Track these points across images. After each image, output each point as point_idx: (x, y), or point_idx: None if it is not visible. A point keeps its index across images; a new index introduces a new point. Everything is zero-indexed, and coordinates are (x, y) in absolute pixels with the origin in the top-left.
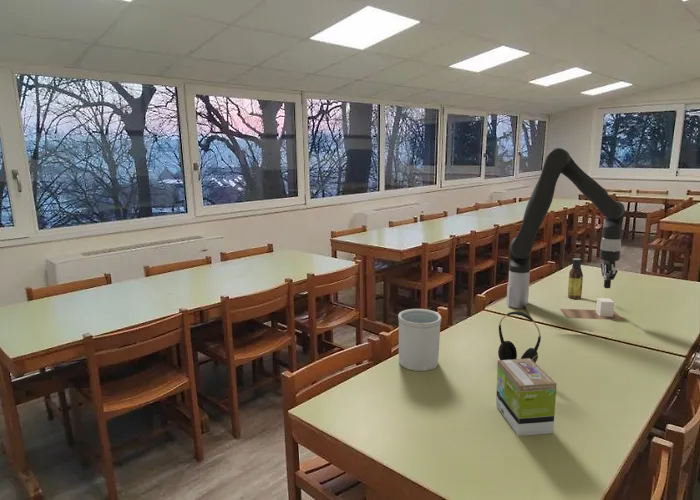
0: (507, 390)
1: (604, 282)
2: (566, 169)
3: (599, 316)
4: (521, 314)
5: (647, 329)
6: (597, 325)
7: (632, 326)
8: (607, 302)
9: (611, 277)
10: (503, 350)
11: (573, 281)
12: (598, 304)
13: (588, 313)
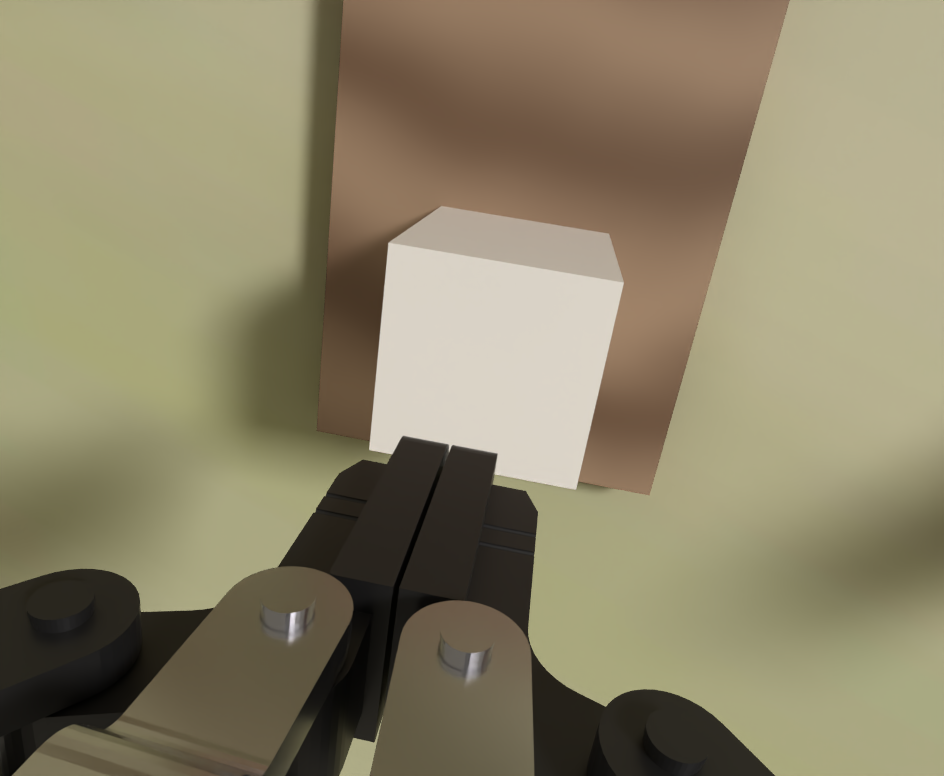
0: None
1: (435, 518)
2: None
3: (433, 194)
4: None
5: (177, 520)
6: (235, 56)
7: (243, 438)
8: (379, 343)
9: (7, 773)
10: None
11: None
12: (527, 247)
13: (569, 94)
